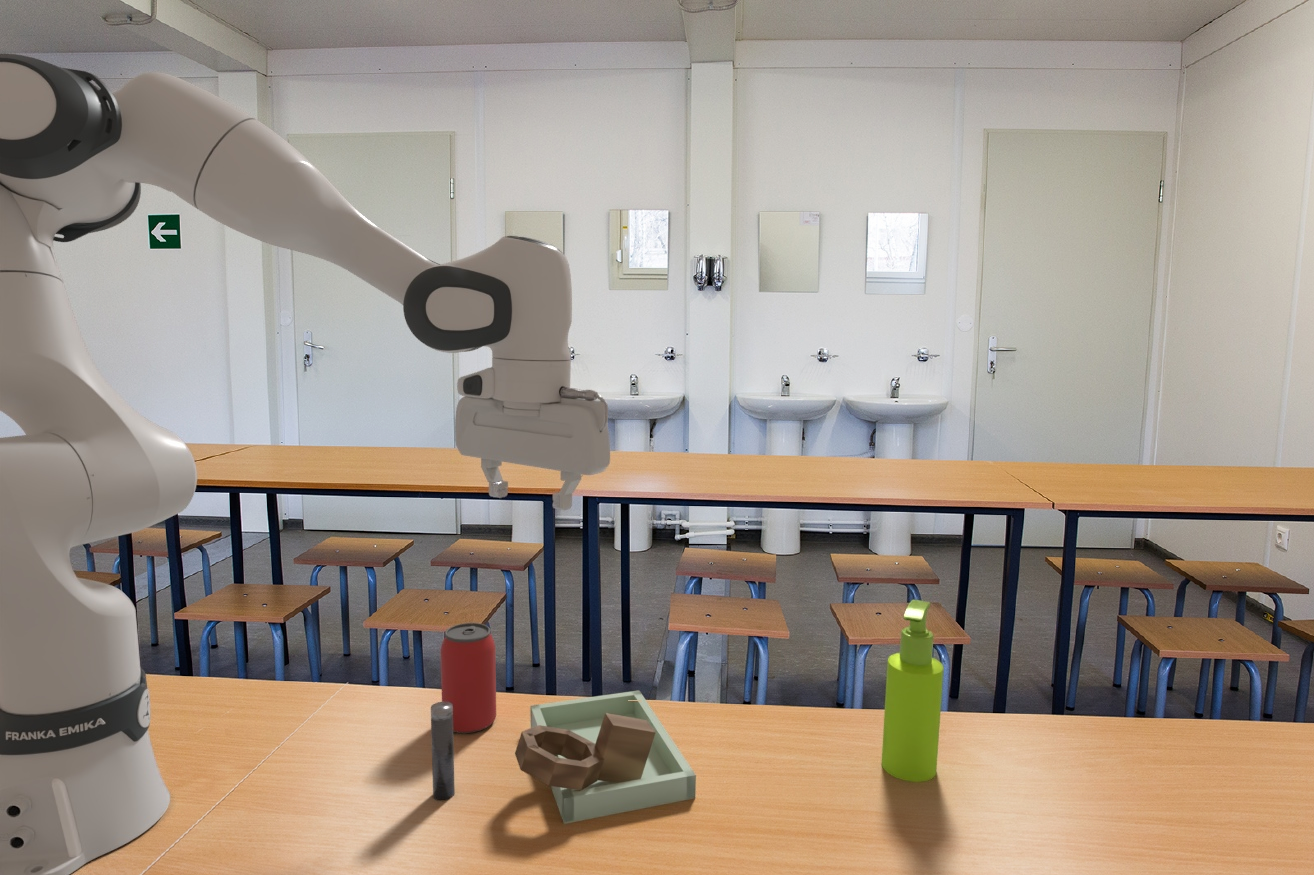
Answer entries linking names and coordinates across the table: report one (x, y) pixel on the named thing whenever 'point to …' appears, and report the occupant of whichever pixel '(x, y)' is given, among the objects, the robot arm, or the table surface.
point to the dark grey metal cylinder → (442, 750)
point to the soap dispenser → (913, 702)
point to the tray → (657, 786)
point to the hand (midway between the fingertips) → (529, 502)
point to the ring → (586, 753)
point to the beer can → (469, 676)
